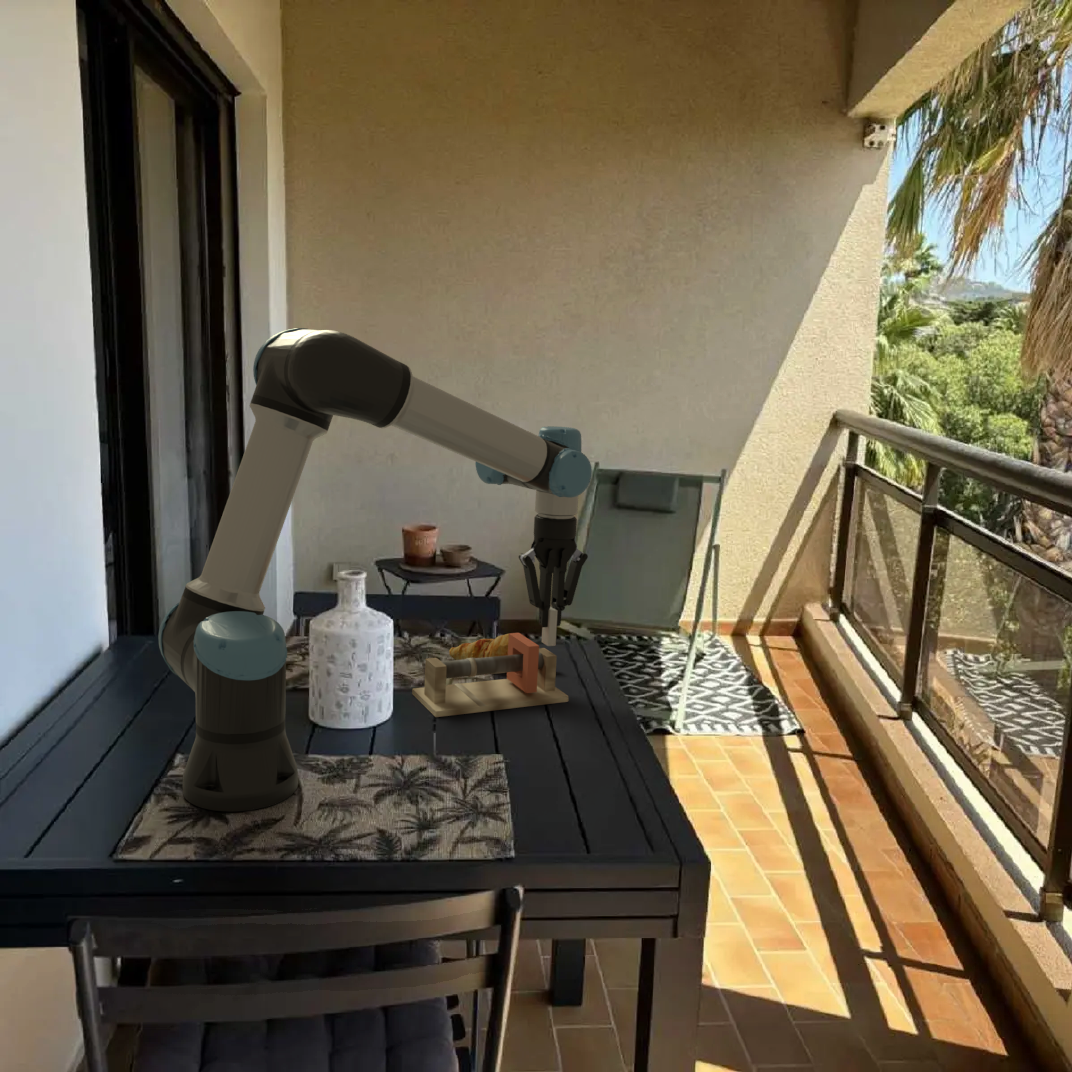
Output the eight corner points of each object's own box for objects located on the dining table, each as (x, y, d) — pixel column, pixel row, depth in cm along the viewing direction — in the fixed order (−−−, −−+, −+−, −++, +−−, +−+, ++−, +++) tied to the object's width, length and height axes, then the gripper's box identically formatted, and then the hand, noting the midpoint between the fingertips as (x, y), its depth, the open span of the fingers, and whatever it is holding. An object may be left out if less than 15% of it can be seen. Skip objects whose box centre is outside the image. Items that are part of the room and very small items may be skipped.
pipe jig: (538, 680, 189) (540, 641, 188) (568, 701, 179) (570, 660, 178) (412, 693, 179) (413, 652, 177) (435, 717, 168) (437, 673, 167)
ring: (516, 677, 185) (518, 632, 184) (536, 692, 178) (539, 645, 176) (506, 678, 184) (508, 633, 183) (526, 693, 177) (528, 646, 175)
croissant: (444, 681, 197) (440, 652, 192) (456, 646, 205) (452, 617, 200) (551, 691, 194) (549, 661, 189) (559, 654, 201) (557, 625, 196)
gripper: (578, 510, 184) (570, 635, 188) (513, 512, 178) (507, 640, 182) (598, 517, 177) (590, 646, 181) (531, 519, 171) (524, 652, 176)
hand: (548, 643), depth 182 cm, fingers closed
